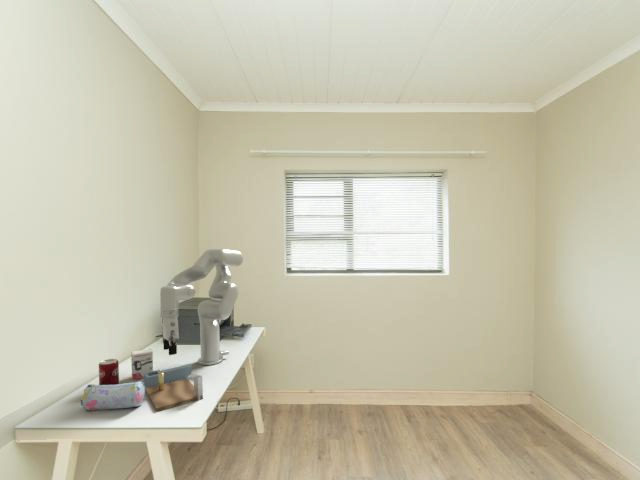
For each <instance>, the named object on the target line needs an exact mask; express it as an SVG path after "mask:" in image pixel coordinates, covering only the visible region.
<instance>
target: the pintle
mask: <svg viewBox="0 0 640 480" xmlns="http://www.w3.org/2000/svg"><path fill="white" fill-rule="evenodd" d="M158 381H159V391H163V390H164V373H163V372H161V373H158Z"/></svg>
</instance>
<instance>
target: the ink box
mask: <svg viewBox="0 0 640 480" xmlns="http://www.w3.org/2000/svg"><path fill="white" fill-rule="evenodd" d="M153 353H154V351H153V350H152V348H145V349H140V350H139V349H138V350H134V351H131V353H130V354H131V357H130V358H131V378H132V380H133V381H136V380H138V379H144V373H147V372H151V371H154V362H153V359H154V357H153V356H154V355H153Z"/></svg>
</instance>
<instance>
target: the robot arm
mask: <svg viewBox="0 0 640 480" xmlns="http://www.w3.org/2000/svg"><path fill="white" fill-rule="evenodd" d="M243 262H244V255H243V253H242V252H241V251H239V250H232V249H226V248H210V249H206V250H205V251H204V252H203V253H202V255H201V256H200V257H199V258H198V259H197V260H196V261H195V263H194V264H193V265H192V266H191V267H187V268H186V269H184V270H183V271H181V272H179V273H178V274H176V275H175V276H174V277H173V278H172V279H171V280H170V281H169V282H168V284H167V285H165V286H162V287H161V288H160V290H159V292H160V296H159V297H160V299H159V300H160V301H159V302H160V318H161V319H162V337H163V351H164V350H165V351H166V350H168V355H169V356H174V355H177V353H178V348H177V347H178V343H177V342H178V341H177V340H179V338H180V336H179V335H180V334H179V320H178V317H179V314H180V311H179V307H180V306H179V305H180V303H179V301H189V300H191V299H193V298H194V296H195V294H196V288H195V286H193V285H192V284H190V283H193V282H197V281H200V280H203V279H205V278H206V277H207V276H208V275H209V274H210V272H212V270H213V268H215V270H216V271H215V276H214V278H213V281H212V283H211V285H210V287H209V290H208V297H209V298H210V299H209V300H208V299H206V300H202V301H201V302H199V304H198V307H197V315H198V319H199V333H200V334H199V335H200V341H199V342H200V357H199V358H198V359H197V364H198V365H201V366H211V365H216V364H219V363H222V362H223V361H224V357H223V356H227V355H229V354H230V351H229V350H220V348H221V347H220V345H221V343H220V340H221V339H220V325H219V321H224V320H227V319H229V317H230V316H231V314H232V312H233V309H234V307H235V305H236V302H237V300H238V296H239V287H238V285H236V284H235V283H233V282H231V280H232V272H231V270H230V269H229V267H240V266H241V265H242V264H243Z"/></svg>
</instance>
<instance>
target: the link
mask: <svg viewBox="0 0 640 480" xmlns="http://www.w3.org/2000/svg"><path fill="white" fill-rule="evenodd" d="M192 371H193V370H192V365H191V364H190V363H189V364H185V365H181V366H177V367H171V368H166V369H162V370H160V369H157V370H153V371H151V372H147V373H144V378H143V383H144V386H145V388H150V387H154V386H158V385H159V381H158V373H161V372H163V373H164V384H166V383H170V382H174V381H178V380H183V379H185V378H186V379H187V376H189V375H191V374H192ZM192 375H193V374H192Z"/></svg>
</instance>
